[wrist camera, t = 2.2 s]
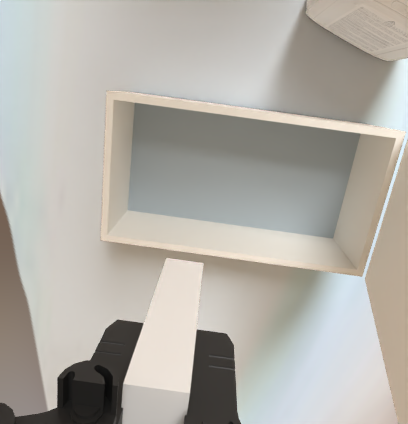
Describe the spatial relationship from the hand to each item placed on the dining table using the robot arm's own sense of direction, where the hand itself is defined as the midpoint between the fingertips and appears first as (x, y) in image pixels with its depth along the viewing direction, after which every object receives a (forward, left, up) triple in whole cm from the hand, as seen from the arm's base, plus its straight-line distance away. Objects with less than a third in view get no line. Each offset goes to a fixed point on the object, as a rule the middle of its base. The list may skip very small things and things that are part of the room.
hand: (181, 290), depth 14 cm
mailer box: (0, +3, -25) cm, 25 cm away
